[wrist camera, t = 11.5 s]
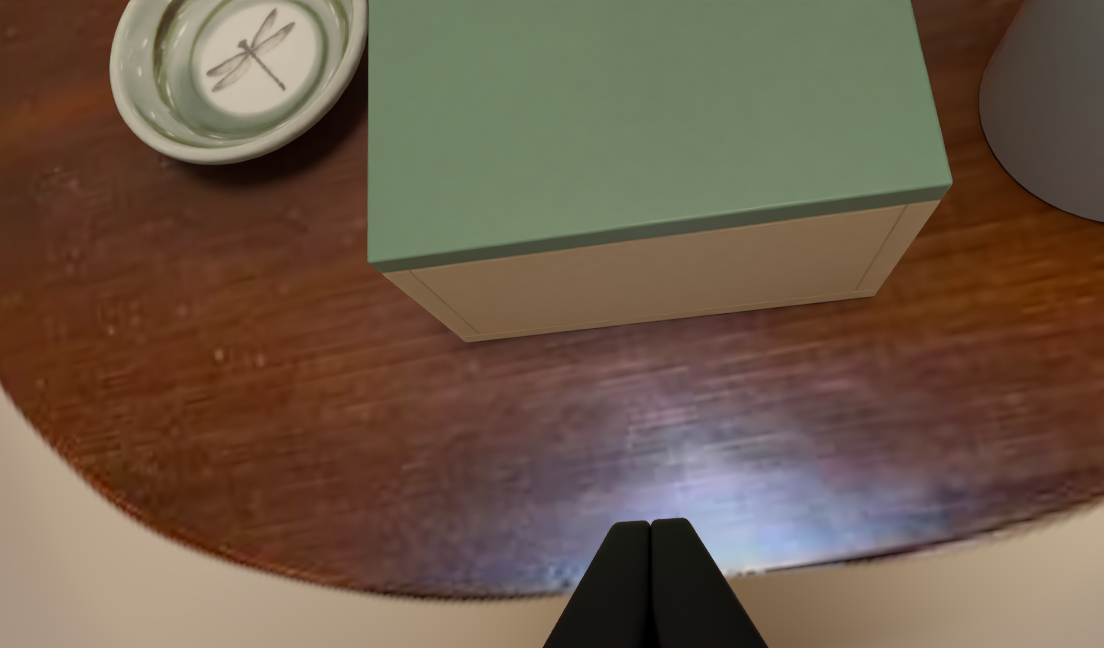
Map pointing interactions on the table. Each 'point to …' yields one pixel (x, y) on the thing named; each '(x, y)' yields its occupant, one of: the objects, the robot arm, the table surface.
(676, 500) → the table surface
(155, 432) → the table surface
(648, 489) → the table surface
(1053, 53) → the stepped grey cylinder
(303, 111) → the saucer
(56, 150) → the table surface
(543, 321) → the open box
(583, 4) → the lid
